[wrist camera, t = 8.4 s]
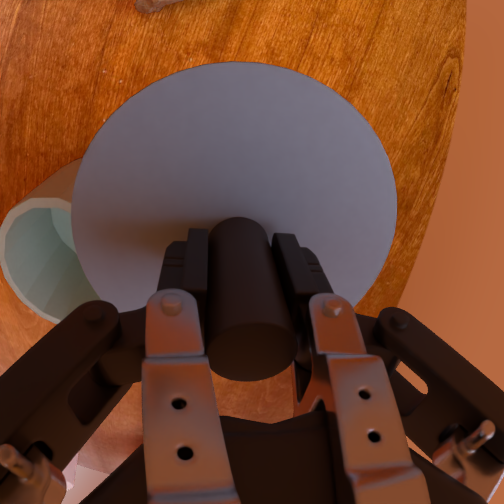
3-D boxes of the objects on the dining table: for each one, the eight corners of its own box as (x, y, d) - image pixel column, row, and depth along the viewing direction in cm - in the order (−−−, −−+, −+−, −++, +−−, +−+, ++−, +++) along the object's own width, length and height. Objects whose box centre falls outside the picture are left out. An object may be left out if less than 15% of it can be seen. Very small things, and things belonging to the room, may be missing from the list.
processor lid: (104, 334, 16) (77, 439, 10) (73, 64, 9) (-46, 78, 3) (341, 339, 18) (377, 435, 12) (416, 99, 11) (537, 143, 5)
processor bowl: (57, 261, 33) (21, 321, 24) (40, 158, 26) (-17, 199, 17) (155, 266, 35) (140, 335, 26) (153, 156, 28) (124, 197, 19)
